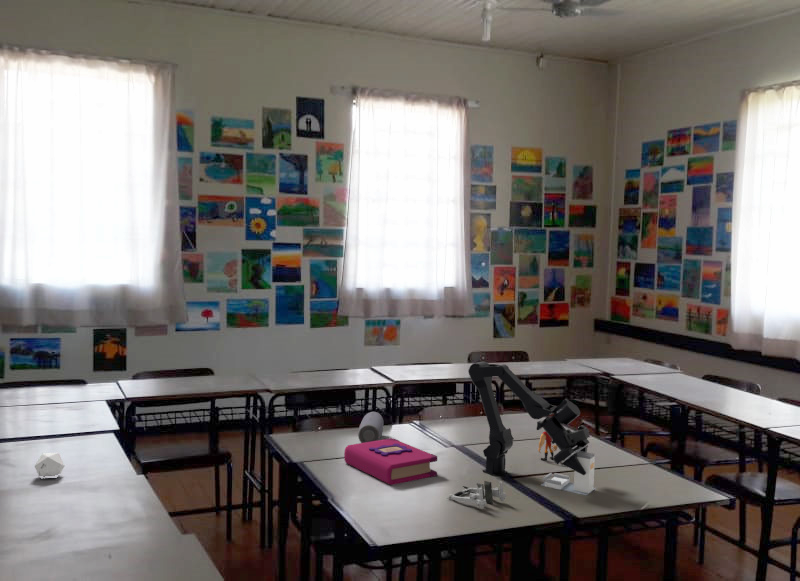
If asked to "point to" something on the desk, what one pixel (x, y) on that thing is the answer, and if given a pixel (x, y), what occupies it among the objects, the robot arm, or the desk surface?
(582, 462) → the relay module
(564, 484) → the din rail board
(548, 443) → the action figure
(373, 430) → the bluetooth speaker
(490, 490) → the bike brake
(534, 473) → the desk surface
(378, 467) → the book
